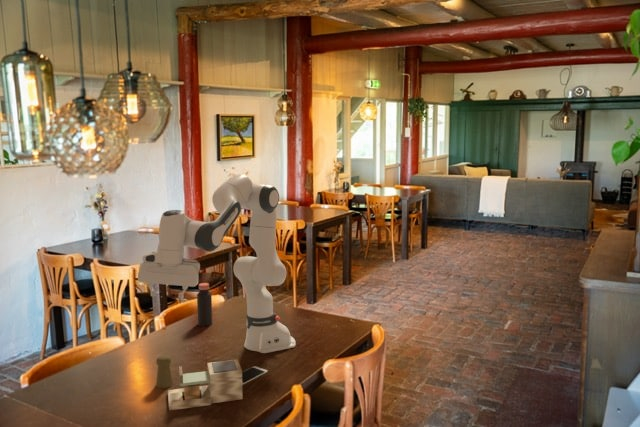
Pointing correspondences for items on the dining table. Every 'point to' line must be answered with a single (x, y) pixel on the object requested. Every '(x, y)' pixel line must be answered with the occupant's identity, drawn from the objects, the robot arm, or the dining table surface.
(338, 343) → the dining table surface
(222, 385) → the beige stepped box
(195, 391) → the block
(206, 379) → the cover
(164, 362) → the olive pepper mill
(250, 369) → the smartphone
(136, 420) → the dining table surface
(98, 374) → the dining table surface
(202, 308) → the bottle
